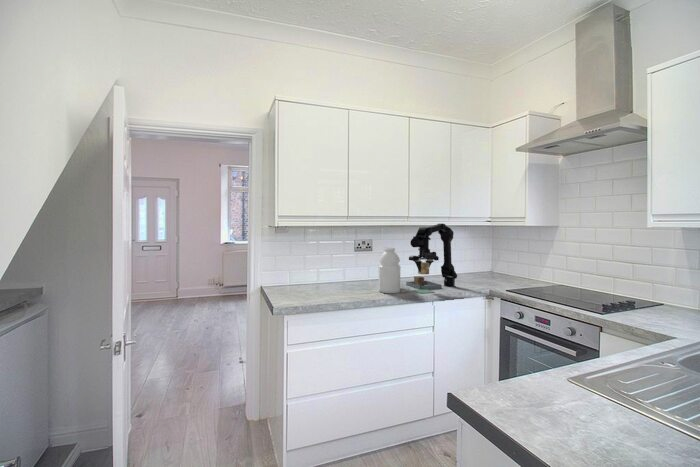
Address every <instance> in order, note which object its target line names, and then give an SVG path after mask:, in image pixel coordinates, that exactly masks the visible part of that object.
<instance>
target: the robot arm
mask: <svg viewBox="0 0 700 467" xmlns="http://www.w3.org/2000/svg"><path fill="white" fill-rule="evenodd" d="M435 232H436V233H438V234H439V235H440V240H441V241H442V244H443V246H442V247H443V265H441V266H440V269H441V271H440V272H441V276H442V278H444V279H443V285H442V286H443V287H447V288H453V287H454V288H457V287H456V286H457V285H456V284H455V282H456V281H455V280H456V279H457V278H458V274H457V272H456V271H455V266H454V265H453V263H452V240H454V231H453V230H452V229H451V227H449V226H447V224H445V223H437V224H434V225H431V226H426V227H425V226H421V227H419V228H418V230H417V231H416V234H415V235H413V236H412V237H413V238H411V240H410V242H409V243H410V246H411V247H412V248H418V249H417V250H418V251H419V254H418V255H409V257H408V260H409V261H413V262H414V264H415V265H416V268H417V271H418V270H419V272H421V262H423V261H422V260H425V262H426V263H429V268H430V267H431V265H432V263H433V262H434V263H435V261H439V259H440V257H439V256H438V255H437V252H436V251H432V252H431V249H430V248H429V247H430V246H429V244H430V241H431V240H432V239H431V237H430V236H431V235H433V233H435Z"/></svg>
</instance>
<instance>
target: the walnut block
mask: <svg viewBox="0 0 700 467" xmlns="http://www.w3.org/2000/svg"><path fill="white" fill-rule="evenodd" d="M413 281H414V284H416V285H419V286H424V281H425V277H424V276H421V275H418V276H417V275H416V276H413Z"/></svg>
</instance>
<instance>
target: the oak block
mask: <svg viewBox="0 0 700 467" xmlns="http://www.w3.org/2000/svg"><path fill="white" fill-rule="evenodd" d="M417 274H419V275H430V267H429V263H426V261H424V262H423V261H422V262H421V272H419V270H418V269H417Z"/></svg>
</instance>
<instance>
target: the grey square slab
mask: <svg viewBox="0 0 700 467" xmlns="http://www.w3.org/2000/svg"><path fill="white" fill-rule="evenodd" d="M406 286H407V287H410V288H413V289H415V290H421V289H427V290H438V289H439V290H440V289H441V290H442V286H443V285H442V284H441V283H440V284H439V283H437V282H433V281H429V280H424V286H419V285H416V284H414V280H413V281H406Z"/></svg>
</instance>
